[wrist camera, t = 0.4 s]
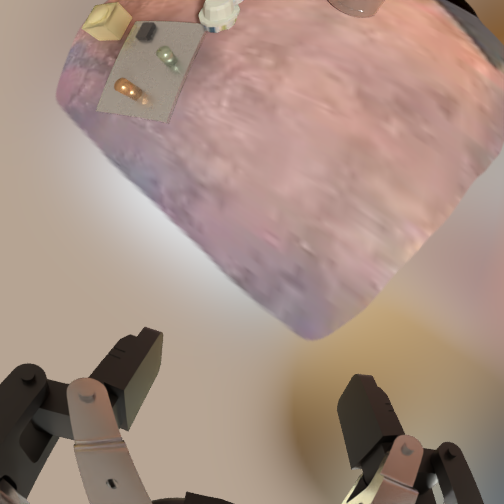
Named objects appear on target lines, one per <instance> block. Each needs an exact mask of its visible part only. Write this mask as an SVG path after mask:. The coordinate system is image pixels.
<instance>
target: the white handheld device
mask: <svg viewBox="0 0 504 504" xmlns="http://www.w3.org/2000/svg"><path fill="white" fill-rule="evenodd" d="M242 1H244V0H206V1H205V3H204V7H203V8H202V9H201V11H200V13H199V15H198V16H199V20H200V23H201V24H203V25H204V27H205V28H206V29H207V31H208V32H213V33H219V31H222V30H225V29H227V30H228V29H230V28H231V27H232V26H233V25H234V23H235V21H236V19H237V16H238V14H239V12H240V8H239V6H238V4H239V3H240V2H242Z"/></svg>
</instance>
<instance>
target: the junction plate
mask: <svg viewBox="0 0 504 504" xmlns="http://www.w3.org/2000/svg"><path fill="white" fill-rule="evenodd" d="M206 33H207V29H206V28H205V27H204V25H203V24H198V23H187V22H170V21H136V22H135V24H134V26H133V28H132V29H131V31H130V33H129V35H128V37H127V39H126V41H125V43H124V45H123V47H122V49H121V51H120V53H119V55H118V57H117V59H116V61H115V64H114V66H113V68H112V71H111V73H110V75H109V78H108V80H107V83H106V85H105V88H104V90H103V93H102V95H101V98H100V101H99V104H98V106H97V109H96V111H98V112H102V113H110V114H117V115H123V116H130V117H136V118H141V119H147V120H152V121H157V122H162V123H167V124H169V122H170V119H171V116H172V113H173V111H174V108H175V105H176V102H177V100H178V97H179V95H180V92H181V89H182V87H183V84H184V82H185V80H186V77H187V75H188V72H189V70H190V68H191V65H192V63H193V61H194V59H195V56H196V54H197V52H198V50H199V48H200V46H201V44H202V41H203V39H204V37H205V35H206Z"/></svg>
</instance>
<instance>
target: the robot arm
mask: <svg viewBox="0 0 504 504" xmlns="http://www.w3.org/2000/svg"><path fill="white" fill-rule="evenodd" d="M328 1H329V2H330V3H331V4H332V5H333V6H334V7H335V8H337V9H338V10H340V11H342V12H344V13H346V14H348V15H351V16H355V17H370V16H373V15H374V14H376V12H377V11H378V9H379V8H380V7H381V5H382V4H383V2H384V1H385V0H328ZM162 343H163V333H162V332H159V331H156V330H153V329H150V328H147V327H144V328H143V329H142V331H141V332H140V333H139V335H138V336H137V337H136V336H133V335H128V336H126V337H124V338H122V339H120V340H119V341H118V342H117V344H116V345H115V346H114V348H112V349H111V351H110V352H109V353H108V355H106V357H105V358H104V359H103V360H102V361H101V363H100V364H99V365H98V367H97V368H96V369H95V370H94V371H93V373H92V374H91V375H90V376H89V377H88V378H79V379H76V380H74V381H73V382H71V383H70V384H65V383H61V382H57V381H52V380H49V379H47V377H46V374H45V372H44V370H43V369H42V368H40V367H39V366H37V365H35V364H22V365H20V366H18V367H16V368H15V369H14V370H13V371H12V372H11V373H10V374H9V375H8V377H7V378H6V379H5V380H4V381H3V382H2V383H1V384H0V504H30V503H29V502H28V501H27V500H26V499H27V497H28V495H29V493H30V491H31V489H32V487H33V485H34V483H35V481H36V479H37V477H38V475H39V473H40V472H41V470H42V468H43V466H44V464H45V462H46V460H47V458H48V457H49V455H50V453H51V451H52V449H53V448H54V446H55V444H56V442H57V441H58V439H59V437H63V438H67V439H71V440H74V441H75V444H74V452H75V456H76V460H77V464H78V468H79V471H80V475H81V478H82V481H83V485H84V488H85V491H86V494H87V497H88V500H89V502H90V504H233V503H231V502H228V501H225V500H223V499H218V498H213V497H208V496H203V495H199V494H194V493H190V492H186V496H185V498H164V499H158V500H153V501H151V499H150V498H149V496H148V494H147V492H146V490H145V488H144V486H143V484H142V481H141V479H140V477H139V475H138V472H137V470H136V468H135V466H134V463H133V461H132V459H131V456H130V454H129V451H128V449H127V446H126V444H125V442H124V440H122V437H121V435H120V432H119V429H120V428H122V429H124V430H126V431H129V429H130V427H131V425H132V423H133V421H134V419H135V417H136V415H137V413H138V411H139V409H140V407H141V405H142V403H143V401H144V399H145V398H146V395H147V394H148V392H149V390H150V388H151V386H152V384H153V382H154V380H155V378H156V376H157V374H158V372H159V368H160V365H161V355H162ZM337 412H338V416H339V420H340V424H341V428H342V432H343V435H344V440H345V444H346V448H347V453H348V457H349V461H350V465H351V469H362V470H363V473H362V474H361V475H360V476H359V477H358V479H357V481H356V482H355V484H354V485H353V487H352V489H351V490H350V492H349V493H348V495H347V496H346V498H345V499H344V501H343V502H342V504H436V501H435V497H434V494H433V491H432V487H434V486H435V485H436V484H437V483H439V485H440V488H441V490H442V494H443V497H444V503H443V504H484V503H483V500H482V498H481V495H480V492H479V490H478V487H477V485H476V482H475V480H474V478H473V475H472V473H471V471H470V469H469V466H468V464H467V462H466V460H465V458H464V456H463V453H462V451H461V449H460V448H459V447H458V446H457V445H455V444H454V443H451V442H444V443H442V444H441V445H440V446H439V447H438V448H437V450H432V449H425V448H423V446H422V445H421V443H420V442H419V440H417V439H416V438H415V437H413V436H410V435H405V433H404V431H403V428H402V426H401V424H400V422H399V420H398V417H397V415H396V413H395V412H394V409H393V407H392V405H391V403H390V400H389V398H388V396H387V395H386V393H385V392H384V391H383V390H382V389H381V388H379V387H377V384H376V382H375V380H374V378H373V376H371V375H361V374H355V375H354V376H353V377H352V378H351V380H350V382H349V384H348V385H347V387H346V389H345V390H344V392H343V394H342V395H341V397H340V399H339V402H338V406H337Z"/></svg>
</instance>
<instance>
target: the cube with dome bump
mask: <svg viewBox="0 0 504 504" xmlns="http://www.w3.org/2000/svg"><path fill="white" fill-rule="evenodd" d="M131 20H132V16H131V15H130V14H129V13H128V12H127V11H126V10H125V9H124V8H123V7H122V6H121V5H120V4H119V3H118V2H114V3H107V4H100V5H96V6H95V7H94V8H93V10H92V11H91V13H90V15H89V16H88V18H87V20H86V21H85V23H84V25H83V27H82V29H83V30H84V31H86V32H87V33H89V34H90V35H92V36H93V37H94V38H96V39H97V40H99V41H105V40H121V38H122V36H123V34H124V32H125V30H126V29H127V27H128V25H129V23H130V21H131Z"/></svg>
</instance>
